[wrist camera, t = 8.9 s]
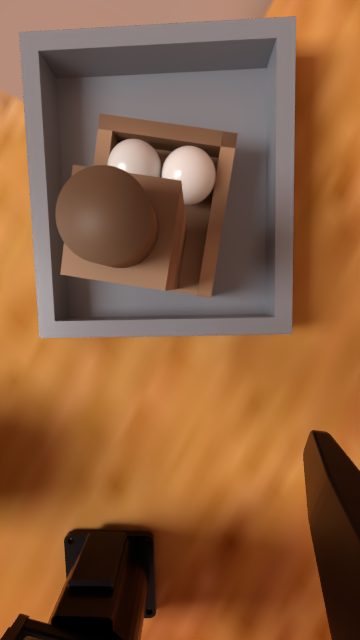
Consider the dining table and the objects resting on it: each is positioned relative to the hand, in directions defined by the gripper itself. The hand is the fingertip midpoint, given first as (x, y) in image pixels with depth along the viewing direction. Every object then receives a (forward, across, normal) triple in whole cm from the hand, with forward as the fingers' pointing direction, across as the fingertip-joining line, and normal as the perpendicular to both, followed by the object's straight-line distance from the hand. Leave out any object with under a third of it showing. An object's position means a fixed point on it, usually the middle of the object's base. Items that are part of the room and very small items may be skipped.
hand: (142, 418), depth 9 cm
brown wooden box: (+15, +2, -2) cm, 15 cm away
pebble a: (+13, +1, -4) cm, 14 cm away
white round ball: (+13, +4, -5) cm, 14 cm away
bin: (+16, +2, -2) cm, 16 cm away
